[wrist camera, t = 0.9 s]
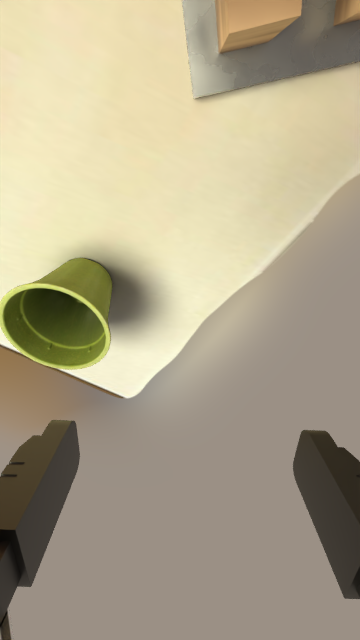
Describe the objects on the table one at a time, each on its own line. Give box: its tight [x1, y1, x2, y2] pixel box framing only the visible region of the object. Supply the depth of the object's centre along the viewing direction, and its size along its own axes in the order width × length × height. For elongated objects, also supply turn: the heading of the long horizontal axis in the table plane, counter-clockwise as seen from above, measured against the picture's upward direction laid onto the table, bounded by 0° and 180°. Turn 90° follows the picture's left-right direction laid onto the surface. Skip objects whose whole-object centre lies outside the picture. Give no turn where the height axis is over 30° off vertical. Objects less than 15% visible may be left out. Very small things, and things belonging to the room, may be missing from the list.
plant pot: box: [0, 258, 112, 370], centre depth 35 cm, size 12×12×11 cm
